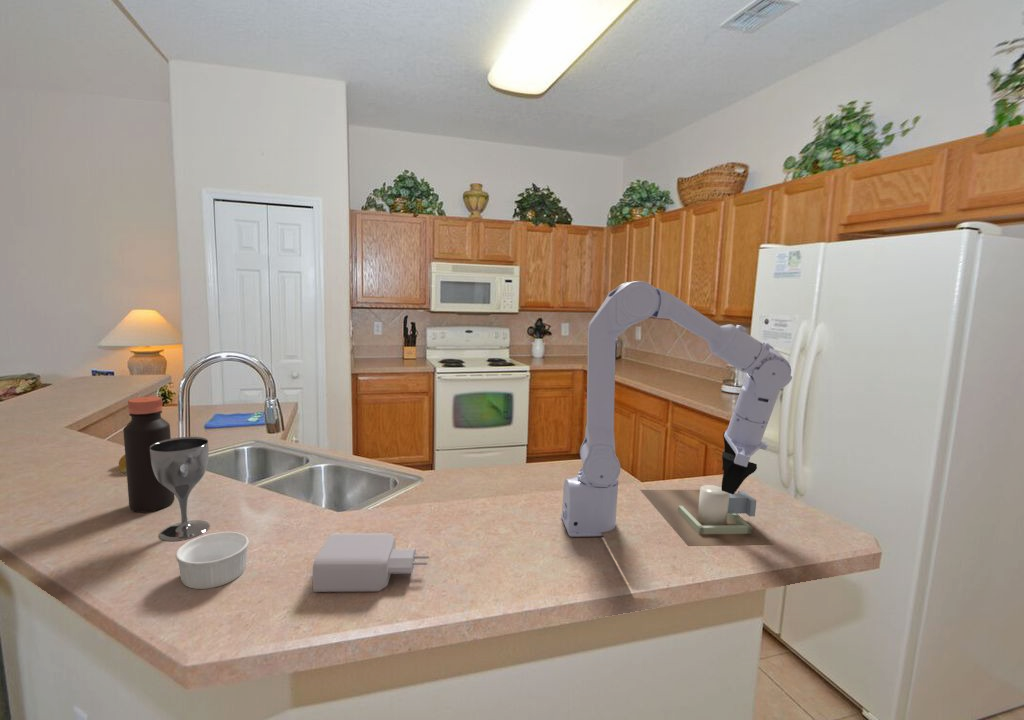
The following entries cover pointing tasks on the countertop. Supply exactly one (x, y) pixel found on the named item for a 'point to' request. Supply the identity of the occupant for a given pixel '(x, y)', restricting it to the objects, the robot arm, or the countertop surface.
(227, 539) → the ramekin
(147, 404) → the bottle
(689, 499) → the board
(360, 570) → the charger
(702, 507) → the white blue t-bar grip
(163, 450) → the wine glass
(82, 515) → the countertop surface
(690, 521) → the cradle
